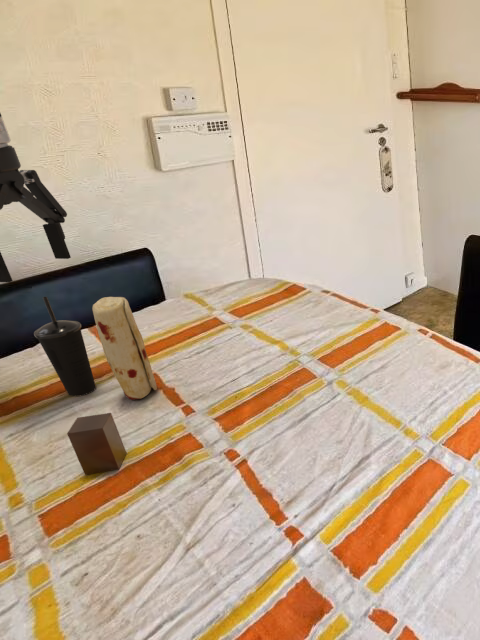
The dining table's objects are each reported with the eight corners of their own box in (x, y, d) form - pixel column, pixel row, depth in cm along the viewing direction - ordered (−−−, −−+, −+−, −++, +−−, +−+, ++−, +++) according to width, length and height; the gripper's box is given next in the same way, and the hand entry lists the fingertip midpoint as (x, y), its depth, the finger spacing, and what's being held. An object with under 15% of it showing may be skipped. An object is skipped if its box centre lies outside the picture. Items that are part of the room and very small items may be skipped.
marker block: (84, 475, 100) (66, 433, 97) (94, 458, 105) (76, 417, 101) (119, 469, 102) (102, 428, 98) (126, 452, 106) (111, 412, 102)
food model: (125, 386, 127) (91, 293, 118) (161, 379, 130) (130, 288, 120) (119, 408, 119) (82, 310, 110) (158, 400, 122) (125, 304, 112)
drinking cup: (105, 392, 125) (69, 298, 116) (60, 403, 121) (19, 307, 112) (102, 378, 131) (67, 287, 121) (59, 388, 127) (20, 296, 118)
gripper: (-65, 158, 93) (-5, 293, 103) (62, 136, 114) (101, 249, 124) (-109, 158, 94) (-45, 292, 104) (25, 137, 115) (67, 249, 125)
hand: (35, 269), depth 114 cm, fingers open, 13 cm apart
